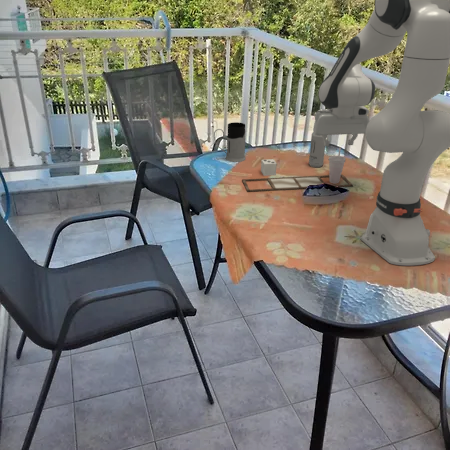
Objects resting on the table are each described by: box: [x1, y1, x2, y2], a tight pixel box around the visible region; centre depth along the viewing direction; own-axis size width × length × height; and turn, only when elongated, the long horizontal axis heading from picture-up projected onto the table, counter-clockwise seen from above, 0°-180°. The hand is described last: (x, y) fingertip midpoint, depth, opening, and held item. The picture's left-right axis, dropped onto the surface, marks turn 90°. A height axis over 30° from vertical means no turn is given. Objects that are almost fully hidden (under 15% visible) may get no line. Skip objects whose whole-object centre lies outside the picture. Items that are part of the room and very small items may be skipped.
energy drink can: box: [308, 131, 326, 168], centre depth 194 cm, size 6×6×15 cm
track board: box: [241, 174, 354, 193], centre depth 180 cm, size 11×41×1 cm, turn 98°
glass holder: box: [213, 121, 247, 163], centre depth 200 cm, size 9×14×15 cm, turn 105°
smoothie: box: [327, 146, 346, 185], centre depth 179 cm, size 6×6×14 cm
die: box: [260, 159, 278, 177], centre depth 188 cm, size 5×5×5 cm
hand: (338, 145), depth 175 cm, fingers open, 8 cm apart
